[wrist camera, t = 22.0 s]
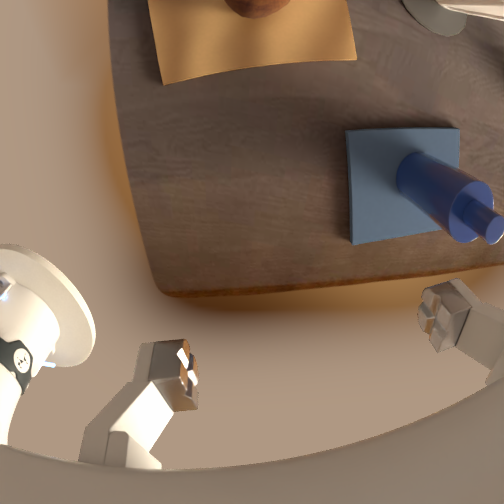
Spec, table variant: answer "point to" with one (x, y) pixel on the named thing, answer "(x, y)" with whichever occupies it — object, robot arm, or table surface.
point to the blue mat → (390, 179)
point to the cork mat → (246, 36)
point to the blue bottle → (450, 198)
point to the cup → (452, 13)
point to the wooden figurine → (256, 7)
